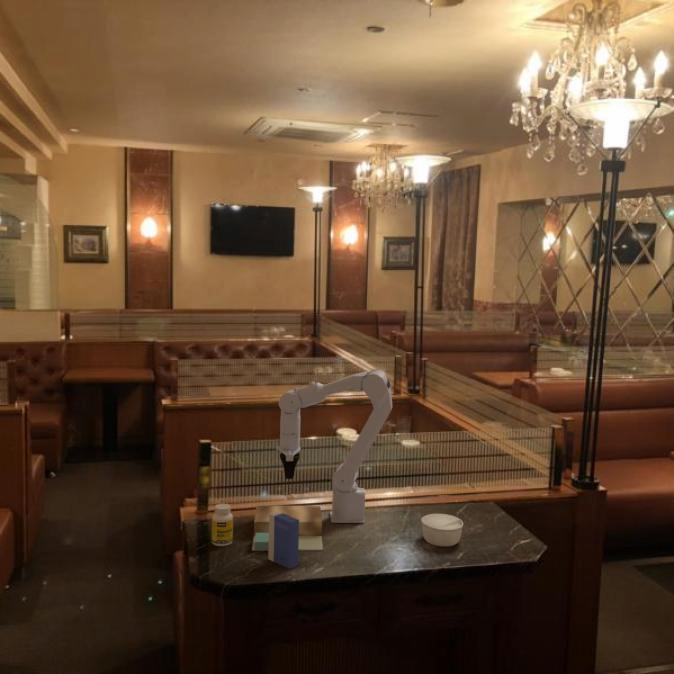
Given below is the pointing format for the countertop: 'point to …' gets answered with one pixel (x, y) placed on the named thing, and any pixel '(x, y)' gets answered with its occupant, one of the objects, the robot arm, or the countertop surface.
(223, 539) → the supplement bottle
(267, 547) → the sage green box
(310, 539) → the mat
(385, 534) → the countertop surface
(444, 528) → the ramekin
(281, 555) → the walkman
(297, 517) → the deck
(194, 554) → the countertop surface
